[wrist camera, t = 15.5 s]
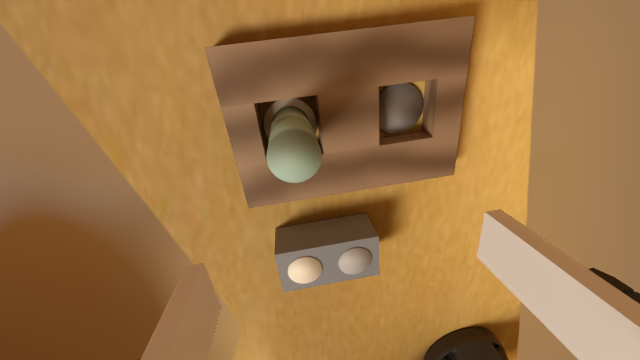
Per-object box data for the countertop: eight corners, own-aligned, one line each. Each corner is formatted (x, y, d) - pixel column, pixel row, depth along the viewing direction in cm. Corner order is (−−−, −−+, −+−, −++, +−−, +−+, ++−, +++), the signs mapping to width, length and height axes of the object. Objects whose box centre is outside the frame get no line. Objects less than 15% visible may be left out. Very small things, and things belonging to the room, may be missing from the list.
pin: (311, 140, 29) (324, 178, 20) (275, 145, 28) (272, 186, 19) (306, 103, 27) (318, 127, 18) (268, 108, 27) (261, 134, 18)
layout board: (442, 166, 33) (453, 174, 30) (251, 197, 31) (248, 208, 29) (458, 18, 26) (475, 15, 23) (211, 48, 24) (204, 47, 22)
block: (367, 247, 37) (379, 275, 32) (283, 262, 36) (283, 293, 31) (366, 212, 34) (379, 237, 29) (275, 228, 33) (274, 256, 29)
